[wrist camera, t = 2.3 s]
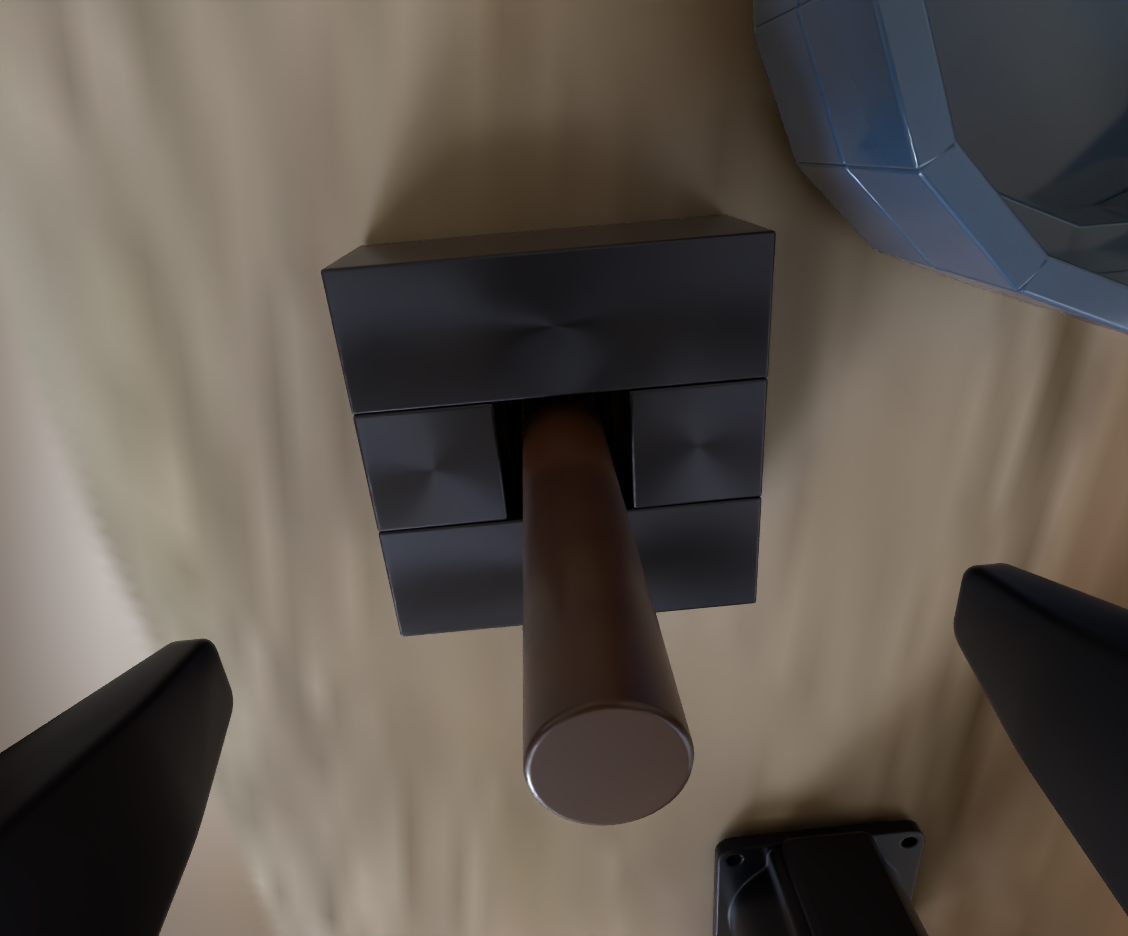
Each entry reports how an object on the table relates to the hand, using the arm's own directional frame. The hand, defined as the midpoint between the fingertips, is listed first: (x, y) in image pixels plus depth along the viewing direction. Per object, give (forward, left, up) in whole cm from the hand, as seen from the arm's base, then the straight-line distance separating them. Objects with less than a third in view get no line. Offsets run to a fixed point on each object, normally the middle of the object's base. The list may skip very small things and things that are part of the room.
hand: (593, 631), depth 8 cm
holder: (0, 0, -8) cm, 8 cm away
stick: (0, 0, -8) cm, 8 cm away
